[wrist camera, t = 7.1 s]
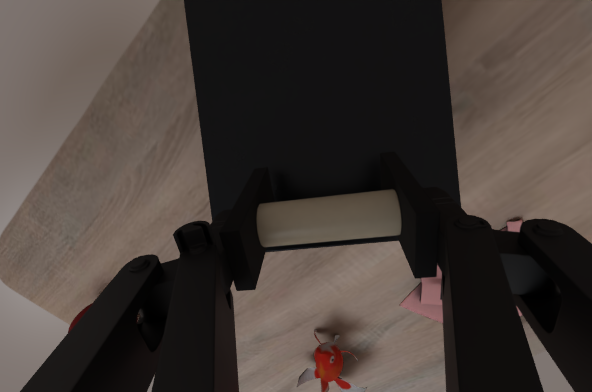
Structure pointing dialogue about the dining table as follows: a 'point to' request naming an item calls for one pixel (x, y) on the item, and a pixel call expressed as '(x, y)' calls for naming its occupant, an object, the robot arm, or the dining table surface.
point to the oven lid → (322, 111)
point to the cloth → (437, 290)
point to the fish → (328, 368)
